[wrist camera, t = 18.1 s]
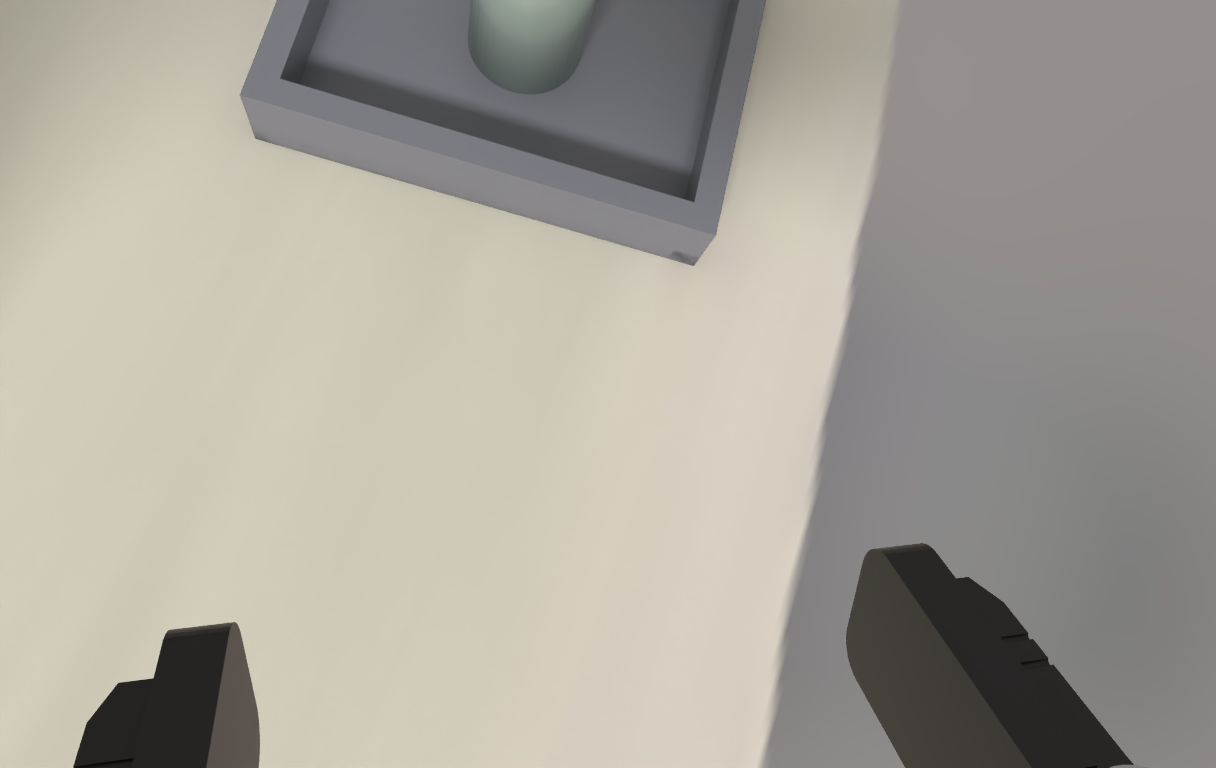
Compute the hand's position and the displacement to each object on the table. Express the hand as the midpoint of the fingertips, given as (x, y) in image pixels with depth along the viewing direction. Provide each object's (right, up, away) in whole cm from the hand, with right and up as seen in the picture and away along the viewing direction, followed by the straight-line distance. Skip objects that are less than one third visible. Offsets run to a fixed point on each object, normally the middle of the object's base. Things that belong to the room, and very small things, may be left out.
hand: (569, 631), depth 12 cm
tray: (-3, +19, +32) cm, 37 cm away
